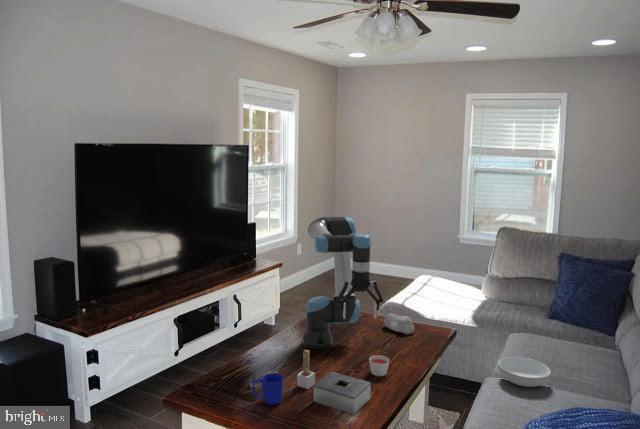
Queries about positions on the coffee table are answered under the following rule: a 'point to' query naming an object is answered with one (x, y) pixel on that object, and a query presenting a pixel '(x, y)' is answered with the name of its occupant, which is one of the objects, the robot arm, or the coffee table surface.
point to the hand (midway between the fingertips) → (359, 317)
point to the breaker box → (342, 392)
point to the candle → (379, 365)
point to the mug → (270, 388)
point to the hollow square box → (306, 380)
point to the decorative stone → (399, 323)
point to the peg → (306, 362)
